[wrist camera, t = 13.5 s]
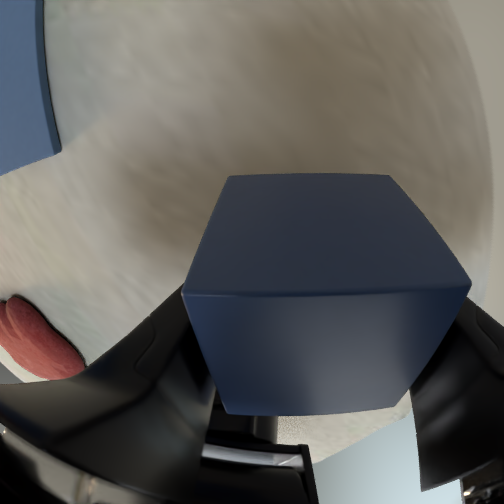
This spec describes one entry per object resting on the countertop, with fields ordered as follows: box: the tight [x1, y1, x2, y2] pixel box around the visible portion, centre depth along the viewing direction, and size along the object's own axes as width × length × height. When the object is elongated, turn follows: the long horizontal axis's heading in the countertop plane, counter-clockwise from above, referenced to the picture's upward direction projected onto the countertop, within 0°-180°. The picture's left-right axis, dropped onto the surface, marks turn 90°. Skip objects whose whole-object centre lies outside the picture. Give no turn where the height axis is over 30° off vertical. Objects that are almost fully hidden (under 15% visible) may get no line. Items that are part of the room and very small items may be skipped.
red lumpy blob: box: [0, 297, 85, 380], centre depth 22 cm, size 18×14×2 cm
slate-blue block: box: [181, 173, 472, 416], centre depth 7 cm, size 5×5×5 cm
